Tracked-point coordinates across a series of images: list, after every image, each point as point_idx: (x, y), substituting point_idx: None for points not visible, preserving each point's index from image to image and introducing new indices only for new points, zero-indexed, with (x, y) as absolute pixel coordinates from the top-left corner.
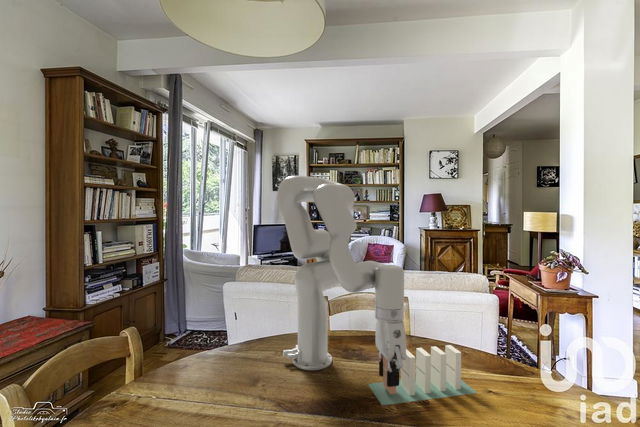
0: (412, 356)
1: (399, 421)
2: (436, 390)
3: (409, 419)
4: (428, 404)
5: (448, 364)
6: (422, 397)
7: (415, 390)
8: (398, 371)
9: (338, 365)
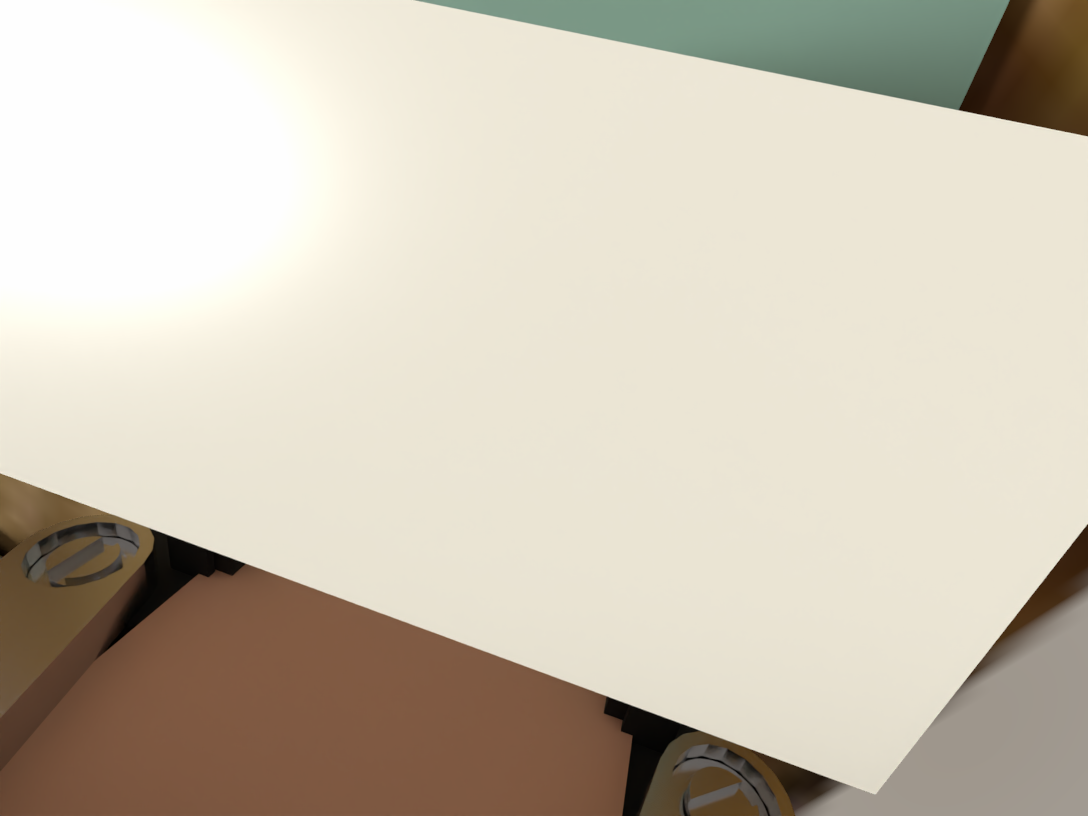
0: (817, 388)
1: (1013, 650)
2: None
3: (1076, 556)
4: (1061, 90)
5: None
6: (897, 79)
7: (680, 52)
8: (760, 798)
9: (4, 498)
